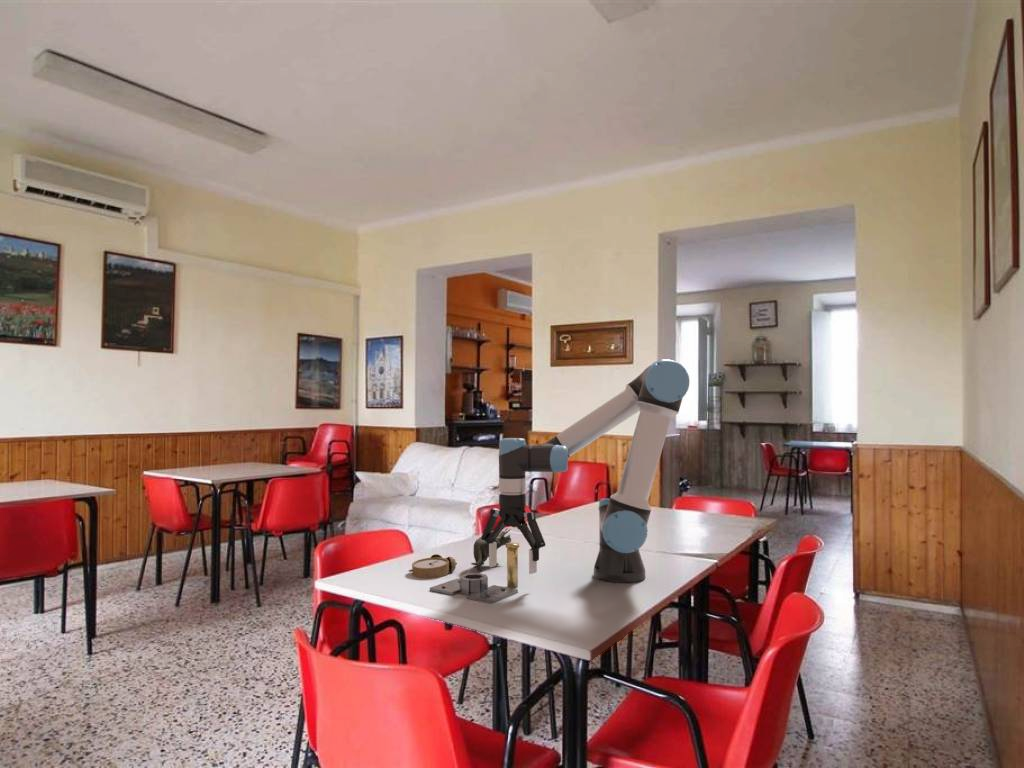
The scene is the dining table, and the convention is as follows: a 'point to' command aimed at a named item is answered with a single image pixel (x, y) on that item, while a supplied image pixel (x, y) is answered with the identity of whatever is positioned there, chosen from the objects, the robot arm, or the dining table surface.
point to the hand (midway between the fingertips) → (512, 569)
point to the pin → (512, 565)
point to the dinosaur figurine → (481, 548)
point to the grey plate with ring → (474, 588)
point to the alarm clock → (433, 566)
